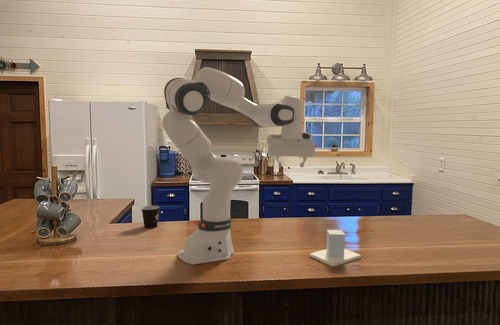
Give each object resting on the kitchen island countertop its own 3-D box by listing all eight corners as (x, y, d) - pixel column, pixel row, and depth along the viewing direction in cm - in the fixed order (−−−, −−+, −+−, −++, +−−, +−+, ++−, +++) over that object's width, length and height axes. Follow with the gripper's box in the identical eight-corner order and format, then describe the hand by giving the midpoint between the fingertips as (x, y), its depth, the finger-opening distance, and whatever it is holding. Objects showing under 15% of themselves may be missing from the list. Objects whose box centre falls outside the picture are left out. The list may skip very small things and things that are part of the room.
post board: (332, 266, 125) (333, 245, 125) (309, 256, 135) (310, 236, 134) (360, 257, 134) (361, 237, 133) (337, 248, 144) (338, 229, 143)
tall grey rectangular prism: (328, 256, 132) (329, 234, 131) (326, 251, 138) (327, 229, 137) (344, 257, 132) (344, 234, 131) (340, 251, 137) (341, 230, 136)
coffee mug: (149, 230, 168) (148, 210, 167) (138, 227, 173) (138, 207, 172) (167, 225, 177) (167, 206, 176) (157, 222, 182) (156, 203, 181)
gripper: (267, 134, 143) (266, 167, 144) (316, 135, 142) (315, 168, 143) (267, 134, 149) (266, 165, 150) (314, 134, 148) (313, 166, 149)
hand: (290, 166), depth 147 cm, fingers open, 8 cm apart
